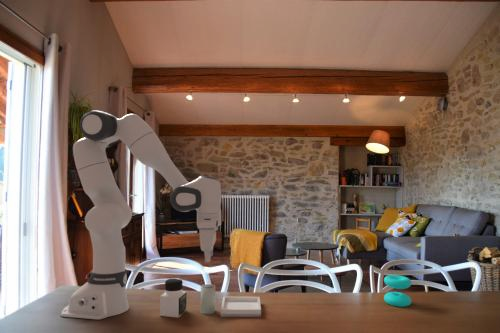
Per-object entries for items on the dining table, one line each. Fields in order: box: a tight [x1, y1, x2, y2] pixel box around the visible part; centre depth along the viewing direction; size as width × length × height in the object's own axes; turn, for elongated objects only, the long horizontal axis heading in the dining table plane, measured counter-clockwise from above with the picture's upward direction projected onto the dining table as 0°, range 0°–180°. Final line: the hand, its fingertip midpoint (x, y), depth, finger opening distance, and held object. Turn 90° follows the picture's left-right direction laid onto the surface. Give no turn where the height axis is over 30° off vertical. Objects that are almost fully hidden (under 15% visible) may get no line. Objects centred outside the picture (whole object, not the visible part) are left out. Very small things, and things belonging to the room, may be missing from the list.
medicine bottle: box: [159, 277, 187, 319], centre depth 133 cm, size 7×7×12 cm
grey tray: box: [220, 296, 262, 318], centre depth 137 cm, size 14×14×2 cm
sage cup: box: [200, 283, 216, 315], centre depth 135 cm, size 5×5×9 cm
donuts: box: [383, 274, 412, 308], centre depth 146 cm, size 10×10×10 cm
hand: (209, 258), depth 135 cm, fingers open, 8 cm apart
